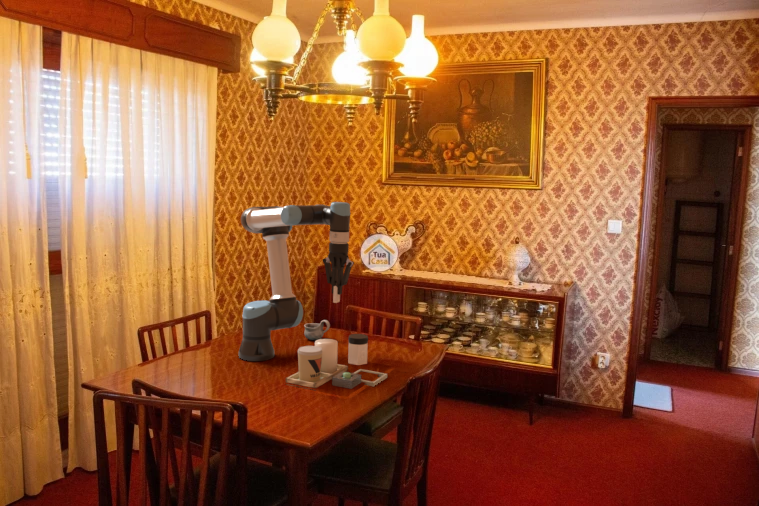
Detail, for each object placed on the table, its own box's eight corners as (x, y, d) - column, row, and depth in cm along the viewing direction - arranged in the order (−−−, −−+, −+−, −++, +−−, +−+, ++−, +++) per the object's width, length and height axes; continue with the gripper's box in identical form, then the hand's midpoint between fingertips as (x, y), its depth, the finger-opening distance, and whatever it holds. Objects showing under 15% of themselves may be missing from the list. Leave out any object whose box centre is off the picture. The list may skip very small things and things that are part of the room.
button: (341, 384, 226) (341, 373, 225) (345, 381, 228) (345, 371, 228) (348, 385, 224) (348, 375, 224) (352, 383, 227) (352, 372, 227)
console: (332, 387, 225) (332, 377, 224) (342, 381, 232) (342, 371, 231) (351, 391, 221) (351, 380, 221) (360, 385, 229) (361, 374, 228)
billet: (309, 372, 238) (310, 342, 236) (321, 366, 246) (322, 337, 244) (329, 376, 234) (330, 346, 233) (341, 370, 242) (341, 340, 241)
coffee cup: (311, 385, 223) (312, 353, 221) (291, 380, 228) (292, 349, 226) (326, 379, 231) (327, 348, 229) (307, 374, 236) (308, 344, 234)
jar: (353, 368, 248) (354, 339, 247) (343, 362, 255) (344, 335, 254) (371, 365, 253) (372, 337, 252) (361, 360, 260) (362, 332, 259)
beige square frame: (345, 381, 232) (345, 377, 232) (359, 372, 243) (360, 368, 243) (374, 386, 227) (374, 382, 227) (387, 377, 238) (387, 373, 238)
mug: (306, 336, 296) (307, 316, 294) (332, 338, 294) (332, 317, 293) (301, 341, 286) (302, 320, 285) (327, 343, 284) (328, 322, 283)
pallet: (285, 384, 226) (285, 378, 226) (319, 366, 249) (319, 360, 248) (315, 390, 221) (315, 384, 220) (347, 372, 243) (347, 366, 243)
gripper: (319, 241, 233) (317, 301, 236) (349, 245, 227) (346, 306, 231) (329, 239, 240) (326, 298, 243) (358, 243, 234) (355, 302, 237)
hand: (336, 302), depth 237 cm, fingers closed
